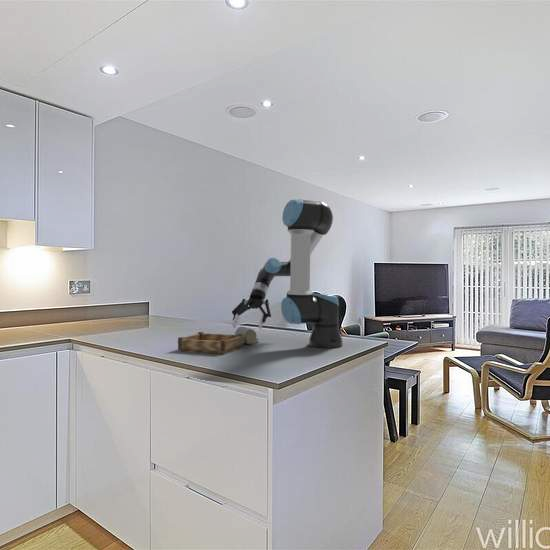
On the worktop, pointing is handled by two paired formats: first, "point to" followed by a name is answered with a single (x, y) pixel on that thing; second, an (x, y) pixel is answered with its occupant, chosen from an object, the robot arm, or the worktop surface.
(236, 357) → the worktop surface
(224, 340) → the crate
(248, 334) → the ceramic mug
